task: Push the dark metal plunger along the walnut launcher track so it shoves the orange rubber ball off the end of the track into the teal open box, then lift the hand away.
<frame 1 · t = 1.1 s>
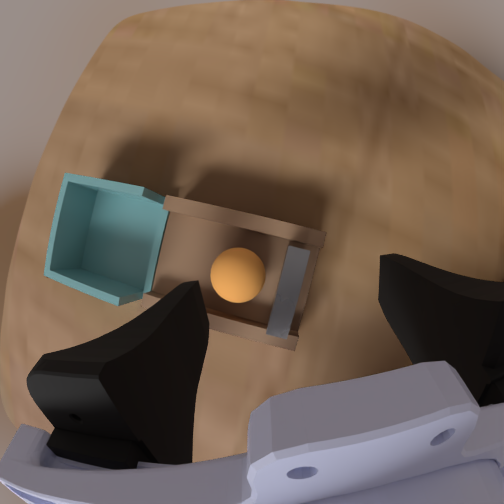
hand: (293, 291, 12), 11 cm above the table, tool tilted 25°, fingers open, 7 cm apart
launcher: (236, 269, 23), on the table
plunger: (287, 288, 19), point 4 cm above the table, slide at 0.0 cm
ball: (238, 275, 20), point 4 cm above the table, touching launcher
teal open box: (122, 238, 24), on the table
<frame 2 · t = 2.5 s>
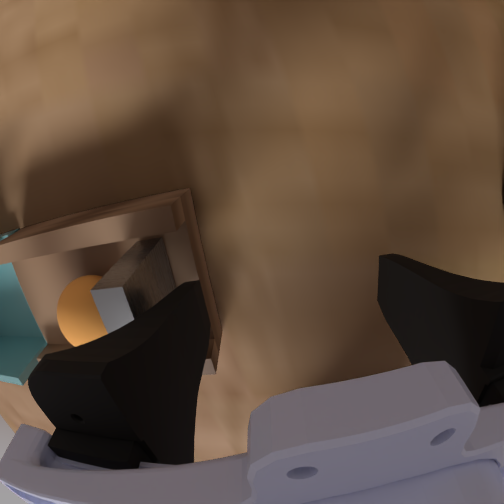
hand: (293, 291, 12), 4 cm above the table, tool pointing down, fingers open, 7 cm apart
launcher: (112, 278, 16), on the table
plunger: (150, 318, 11), point 4 cm above the table, slide at 0.1 cm, touching gripper
ball: (93, 314, 12), point 4 cm above the table, touching launcher
teal open box: (5, 291, 16), on the table
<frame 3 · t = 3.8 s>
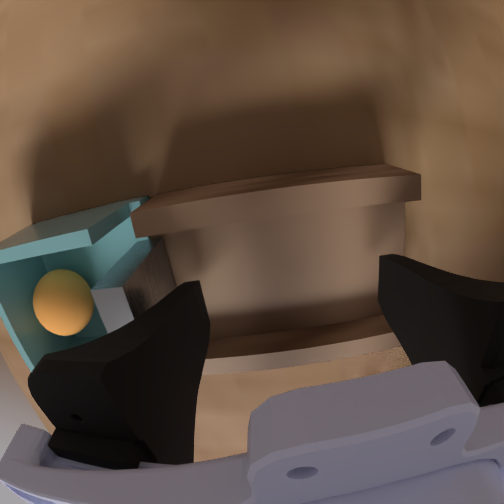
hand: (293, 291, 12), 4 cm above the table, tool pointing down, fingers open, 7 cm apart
launcher: (283, 256, 15), on the table
plunger: (150, 318, 11), point 4 cm above the table, slide at 9.4 cm, touching gripper
ball: (63, 302, 14), point 2 cm above the table, tilted 55°, touching teal open box
teal open box: (102, 279, 16), on the table
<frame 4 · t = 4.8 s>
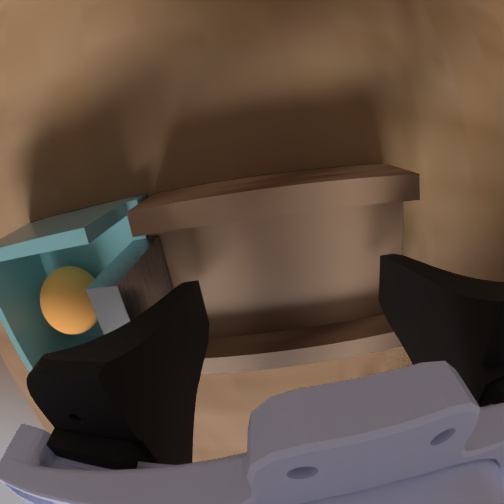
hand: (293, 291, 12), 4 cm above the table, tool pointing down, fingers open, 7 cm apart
launcher: (280, 255, 15), on the table
plunger: (145, 317, 11), point 4 cm above the table, slide at 9.4 cm
ball: (71, 300, 13), point 2 cm above the table, tilted 30°, touching teal open box
teal open box: (99, 278, 16), on the table
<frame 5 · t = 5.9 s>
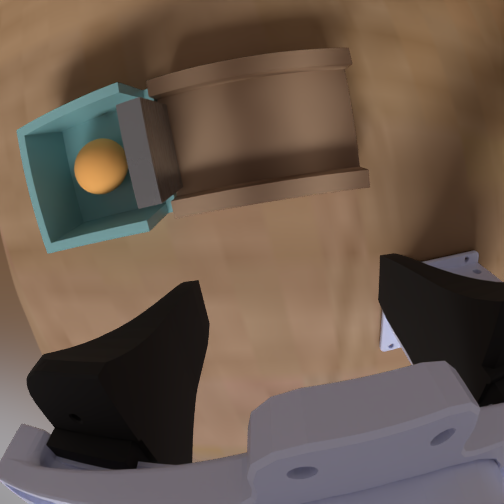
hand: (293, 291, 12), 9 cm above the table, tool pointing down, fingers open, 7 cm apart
launcher: (259, 128, 18), on the table
plunger: (152, 150, 14), point 4 cm above the table, slide at 9.4 cm
ball: (101, 166, 17), point 2 cm above the table, touching teal open box
teal open box: (114, 162, 19), on the table
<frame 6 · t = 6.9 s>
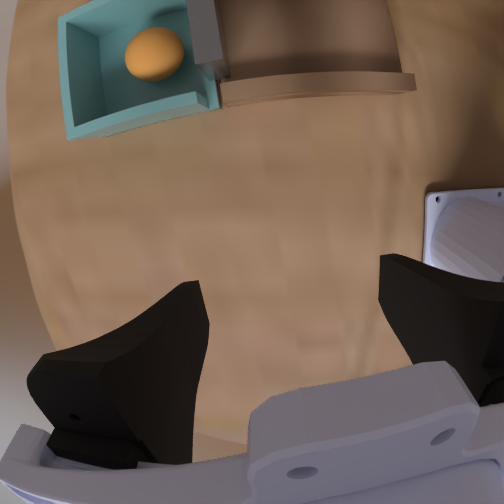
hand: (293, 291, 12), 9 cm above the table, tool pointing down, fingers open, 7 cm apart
launcher: (305, 40, 16), on the table
plunger: (208, 28, 12), point 4 cm above the table, slide at 9.4 cm
ball: (154, 54, 14), point 2 cm above the table, tilted 24°, touching teal open box
teal open box: (151, 65, 16), on the table
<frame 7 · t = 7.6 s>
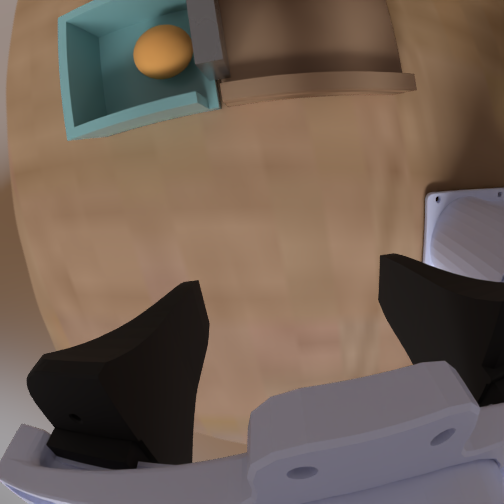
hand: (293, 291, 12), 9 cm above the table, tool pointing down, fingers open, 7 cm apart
launcher: (305, 40, 16), on the table
plunger: (208, 28, 12), point 4 cm above the table, slide at 9.4 cm
ball: (163, 51, 14), point 2 cm above the table, tilted 42°, touching teal open box
teal open box: (151, 65, 16), on the table
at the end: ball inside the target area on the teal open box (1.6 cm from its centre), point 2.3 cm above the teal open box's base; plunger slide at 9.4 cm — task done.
